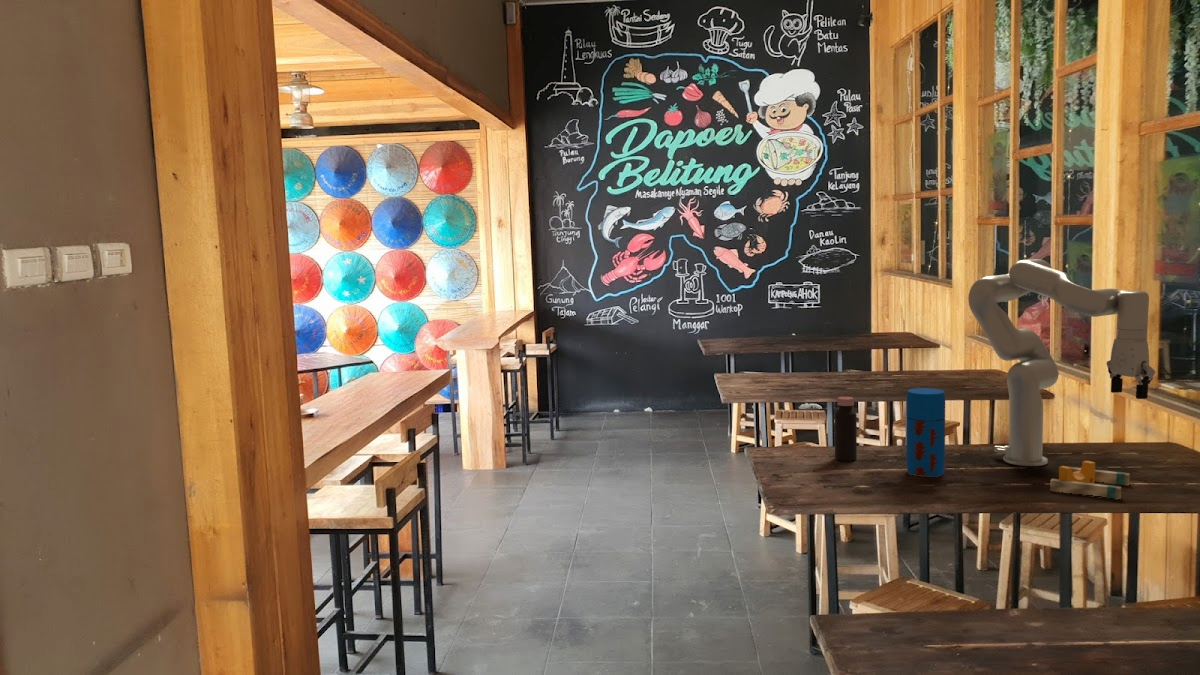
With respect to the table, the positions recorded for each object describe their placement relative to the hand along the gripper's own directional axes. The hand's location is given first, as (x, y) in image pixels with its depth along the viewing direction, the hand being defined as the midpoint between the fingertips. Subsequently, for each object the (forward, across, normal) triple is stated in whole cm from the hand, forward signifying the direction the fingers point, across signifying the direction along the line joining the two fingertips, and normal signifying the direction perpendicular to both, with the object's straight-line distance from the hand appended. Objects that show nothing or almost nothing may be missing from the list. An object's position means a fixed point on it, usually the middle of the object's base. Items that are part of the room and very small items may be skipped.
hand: (1128, 395), depth 265 cm
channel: (+25, +3, -13) cm, 28 cm away
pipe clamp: (+25, 0, -16) cm, 30 cm away
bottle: (+26, -47, -63) cm, 83 cm away
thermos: (+26, -24, -48) cm, 60 cm away
